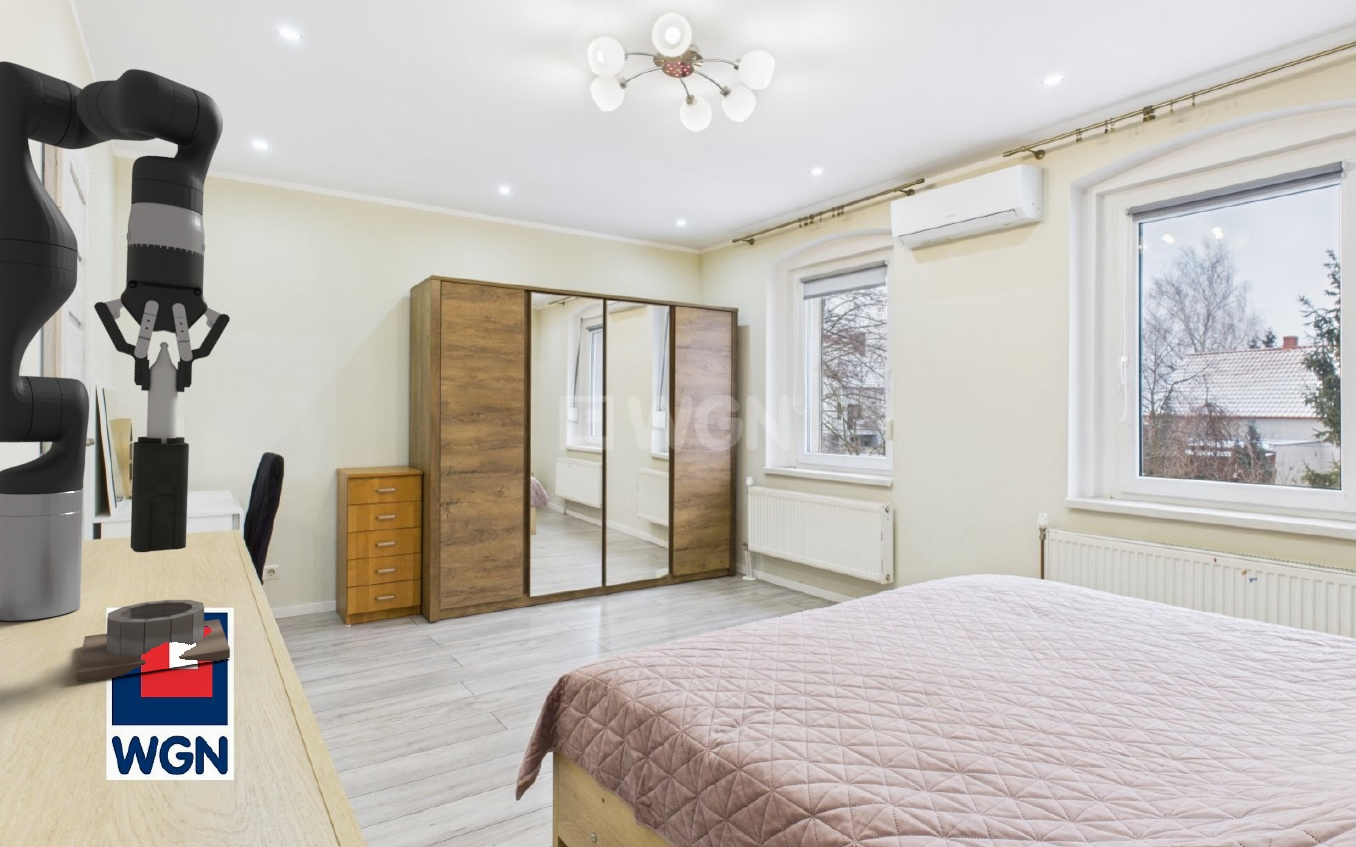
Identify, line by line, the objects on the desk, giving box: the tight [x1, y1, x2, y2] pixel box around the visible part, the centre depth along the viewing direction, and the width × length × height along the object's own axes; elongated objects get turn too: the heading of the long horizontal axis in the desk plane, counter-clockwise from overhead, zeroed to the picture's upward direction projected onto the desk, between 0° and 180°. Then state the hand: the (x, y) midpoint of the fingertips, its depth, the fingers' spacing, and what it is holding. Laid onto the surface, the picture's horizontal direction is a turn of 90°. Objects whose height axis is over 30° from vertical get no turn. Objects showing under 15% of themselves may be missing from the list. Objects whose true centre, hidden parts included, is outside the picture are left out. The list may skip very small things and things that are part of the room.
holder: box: [76, 599, 231, 684], centre depth 86 cm, size 14×14×5 cm
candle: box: [130, 341, 190, 553], centre depth 85 cm, size 5×5×25 cm
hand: (162, 390), depth 85 cm, fingers closed on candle, 3 cm apart
